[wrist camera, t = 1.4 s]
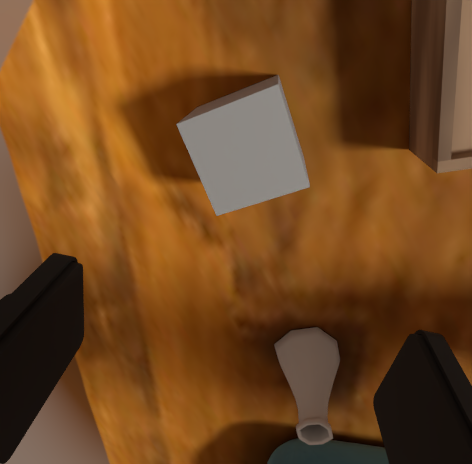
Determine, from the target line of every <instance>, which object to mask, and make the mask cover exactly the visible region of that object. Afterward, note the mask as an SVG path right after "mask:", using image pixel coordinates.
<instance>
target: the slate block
mask: <svg viewBox="0 0 472 464" xmlns="http://www.w3.org/2000/svg"><path fill="white" fill-rule="evenodd" d="M176 125H177V127H178V129H179V132H180V134H181V136H182V138H183V141H184V143H185V145H186V148H187V150H188V152H189V154H190V157H191V159H192V161H193V163H194V166H195V168H196V170H197V172H198V175H199V177H200V179H201V182H202V184H203V186H204V188H205V191H206V193H207V195H208V197H209V200H210V202H211V204H212V206H213V209H214V211H215V213H216V216H218V215H221V214H225V213H228V212H231V211H234V210H237V209H241V208H244V207H247V206H250V205H254V204H257V203H260V202H263V201H266V200H270V199H273V198H276V197H279V196H282V195H286V194H289V193H292V192H295V191H298V190H302V189H305V188H308V187H310V184H309V179H308V175H307V170H306V166H305V161H304V157H303V154H302V150H301V147H300V144H299V140H298V137H297V134H296V131H295V127H294V124H293V121H292V118H291V114H290V111H289V108H288V105H287V101H286V98H285V95H284V92H283V88H282V85H281V82H280V79H279V75H276V76H274V77H271V78H269V79H266V80H264V81H261V82H259V83H256V84H254V85H251V86H249V87H246V88H244V89H241V90H239V91H236V92H234V93H231V94H229V95H226V96H224V97H221V98H219V99H216V100H214V101H211V102H209V103H206V104H204V105H201V106H199V107H197V108H195V109H194V110H193V111H192V112H191V113H189V114H188V115H187V116H186V117H184V118H183V119H182V120H181V121H180V122H178V123H177V124H176Z"/></svg>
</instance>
